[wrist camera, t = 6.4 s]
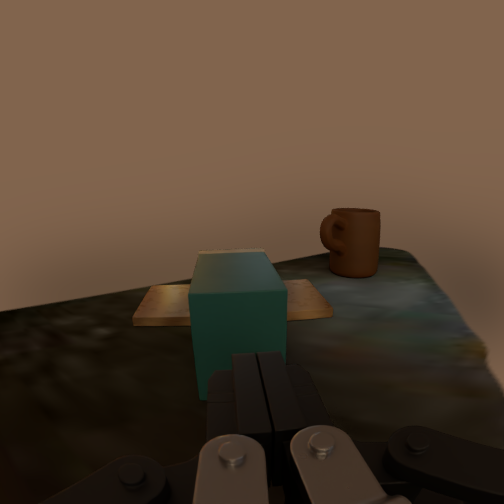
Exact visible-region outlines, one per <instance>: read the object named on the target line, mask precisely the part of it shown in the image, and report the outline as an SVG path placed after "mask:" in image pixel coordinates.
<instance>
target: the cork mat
mask: <svg viewBox="0 0 504 504" xmlns="http://www.w3.org/2000/svg"><path fill="white" fill-rule="evenodd" d="M283 283H284V284H285V286H286V288H287V289H288V303H287V321H292V320H304V319H316V318H326V317H332V315H333V308H332V307H331V305H330V304H329V303H328V302H327V301H326V300H325V299H324V297H323V296H322V295H321V294H320V293H319V292H318V291H317V289H316V288H315V287H314V286H313V285H312V284H311V283H310V282H309V280H308V279H303V280H285V281H283ZM189 288H190V285H154V286H151V288H150V289H149V291H148V293H147V294H146V296H145V297H144V299H143V301H142V302H141V304H140V305H139V307H138V309H137V310H136V312H135V314H134V315H133V317H132V319H133V325H134V326H191V323H190V313H189V302H188V292H189Z"/></svg>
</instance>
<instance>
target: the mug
mask: <svg viewBox="0 0 504 504" xmlns="http://www.w3.org/2000/svg"><path fill="white" fill-rule="evenodd" d="M320 238H321V241H322V244H323V245H324V247H325V248H326V249H328V250H330V261H329V265H330V270H331V271H332V272H333V273H334V274H336V275H339V276H343V277H350V278H364V277H370V276H372V275H374V274H375V273H376V271H377V267H378V256H379V243H380V212H379V211H376V210H370V209H358V208H337V209H332V212H331V215H328V216H327V217H325V218H324V219H323V221H322V223H321V227H320Z"/></svg>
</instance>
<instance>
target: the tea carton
mask: <svg viewBox="0 0 504 504" xmlns="http://www.w3.org/2000/svg"><path fill="white" fill-rule="evenodd" d="M188 302H189V313H190V323H191V333H192V343H193V352H194V360H195V368H196V376H197V384H198V392H199V399H200V400H207V394H208V392H207V391H208V379H209V378H210V377H211V375H212V374H213V373H214V371H215V370H232V355H231V354H240V353H255V355H256V353H257V352H269V351H280V352H281V354H282V357H283V360H284V363H285V364H286V338H287V303H288V289H287V288H286V286H285V284H284V283H283V281H282V280H281V278H280V276H279V275H278V273H277V271H276V270H275V268H274V267H273V265H272V263H271V262H270V260H269V259H268V257H267V255H266V254H265V250H264V249H263V248H256V249H255V248H253V249H225V250H201V251H199V253H198V260H197V263H196V266H195V270H194V274H193V277H192V281H191V285H190V288H189V292H188Z"/></svg>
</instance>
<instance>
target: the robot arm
mask: <svg viewBox="0 0 504 504" xmlns="http://www.w3.org/2000/svg"><path fill="white" fill-rule="evenodd" d="M231 355H232V370H215V371H214V373H213V374H212V375H211V377H210V378H209V379H208V391H207V392H208V394H207V423H206V443H205V445H204V446H203V447H202V449H201V451H200V453H199V454H197V455H196V456H195V457H193V458H192V459H190V460H187V461H185V462H182V463H178V464H173V465H168V466H163V467H162V466H161V465H160V464H159V463H158V462H157V461H155V460H154V459H152V458H149V457H147V456H143V455H126V456H122V457H119V458H116V459H115V460H113V461H111V462H110V463H108V464H106V465H105V466H103V467H101V468H100V469H98V470H97V471H95V472H93V473H92V474H90V475H88V476H87V477H85V478H83V479H82V480H80V481H78V482H76V483H75V484H73V485H71V486H69V487H68V488H66V489H64V490H62V491H61V492H59V493H57V494H55V495H53V496H51V497H50V498H48V499H46V500H44V501H42V502H40V503H38V504H269V500H268V487H270V483H271V480H272V485H273V486H282V485H283V489H284V494H285V502H284V504H504V450H501V449H497V448H493V447H490V446H486V445H482V444H478V443H475V442H471V441H468V440H464V439H461V438H458V437H454V436H451V435H448V434H445V433H442V432H439V431H435V430H432V429H429V428H426V427H422V426H407V427H404V428H401V429H399V430H397V431H396V432H394V433H393V434H392V435H391V437H390V439H389V441H388V442H358V441H353V440H351V438H350V437H349V436H348V435H347V434H346V433H345V432H344V431H342V430H340V429H338V428H336V427H334V426H333V424H332V422H331V420H330V417H329V415H328V413H327V411H326V409H325V407H324V404H323V402H322V400H321V398H320V396H319V394H318V392H317V389H316V387H315V385H314V384H313V381H312V379H311V377H310V374H309V372H307V371H306V370H305V369H303V368H302V367H301V366H299V365H298V364H296V365H285V363H284V360H283V357H282V354H281V352H280V351H269V352H257V353H256V355H255V353H240V354H231ZM424 488H425V489H424ZM427 489H428V490H427ZM430 490H431V491H430ZM433 491H434V492H433ZM436 492H437V493H436ZM439 493H440V494H439ZM442 494H443V495H442ZM445 495H446V496H445ZM448 496H449V497H448ZM451 497H452V498H451ZM454 498H456V499H454Z"/></svg>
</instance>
